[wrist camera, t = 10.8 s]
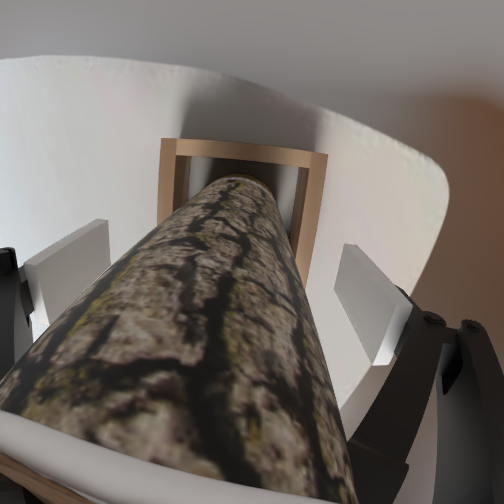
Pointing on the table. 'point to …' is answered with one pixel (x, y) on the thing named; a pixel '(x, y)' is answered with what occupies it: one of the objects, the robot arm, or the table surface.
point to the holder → (310, 163)
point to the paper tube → (183, 373)
